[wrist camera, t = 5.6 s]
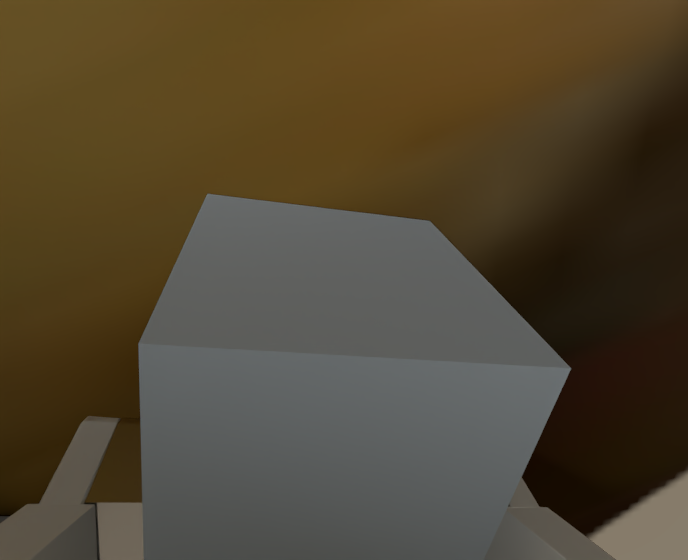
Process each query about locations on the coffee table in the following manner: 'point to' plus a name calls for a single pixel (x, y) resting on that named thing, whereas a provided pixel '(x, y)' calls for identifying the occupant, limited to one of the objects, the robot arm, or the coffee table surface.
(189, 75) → the coffee table surface
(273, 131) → the coffee table surface
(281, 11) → the coffee table surface
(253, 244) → the pale grey upright block
